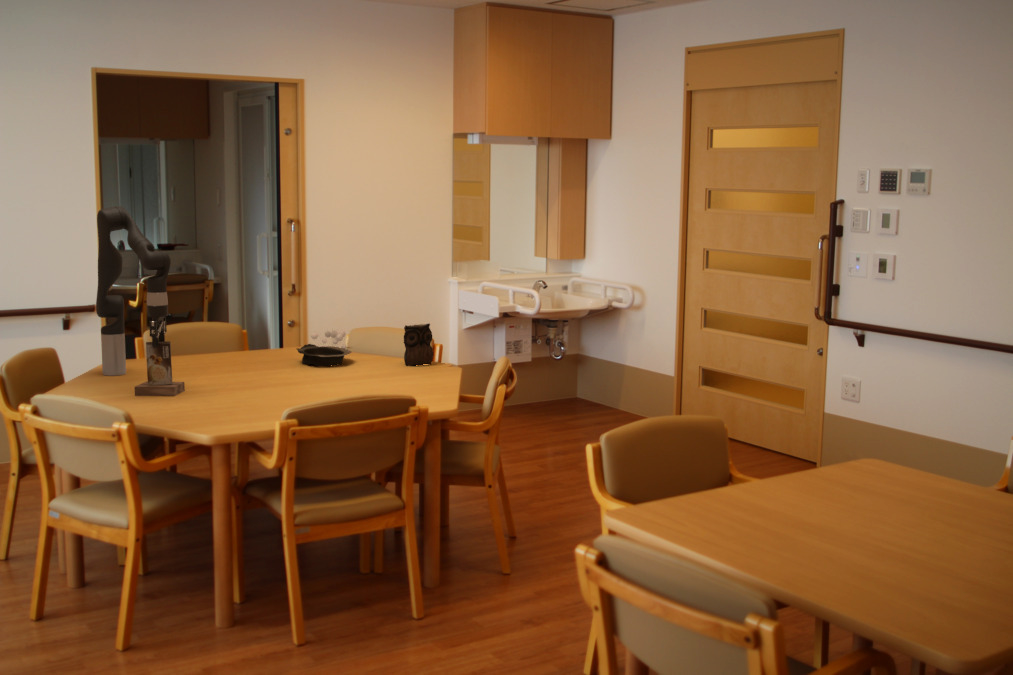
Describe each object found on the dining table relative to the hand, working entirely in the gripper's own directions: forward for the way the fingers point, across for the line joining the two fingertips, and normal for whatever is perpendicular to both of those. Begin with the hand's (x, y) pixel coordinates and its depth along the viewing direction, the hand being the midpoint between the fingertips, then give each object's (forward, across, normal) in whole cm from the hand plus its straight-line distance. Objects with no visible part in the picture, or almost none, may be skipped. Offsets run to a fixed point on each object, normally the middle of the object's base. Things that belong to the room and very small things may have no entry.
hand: (158, 345), depth 375 cm
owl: (+19, -66, +97) cm, 119 cm away
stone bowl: (+19, -68, +55) cm, 89 cm away
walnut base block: (+19, 0, 0) cm, 19 cm away
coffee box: (+15, -1, 0) cm, 15 cm away
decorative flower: (+20, -98, +52) cm, 113 cm away
